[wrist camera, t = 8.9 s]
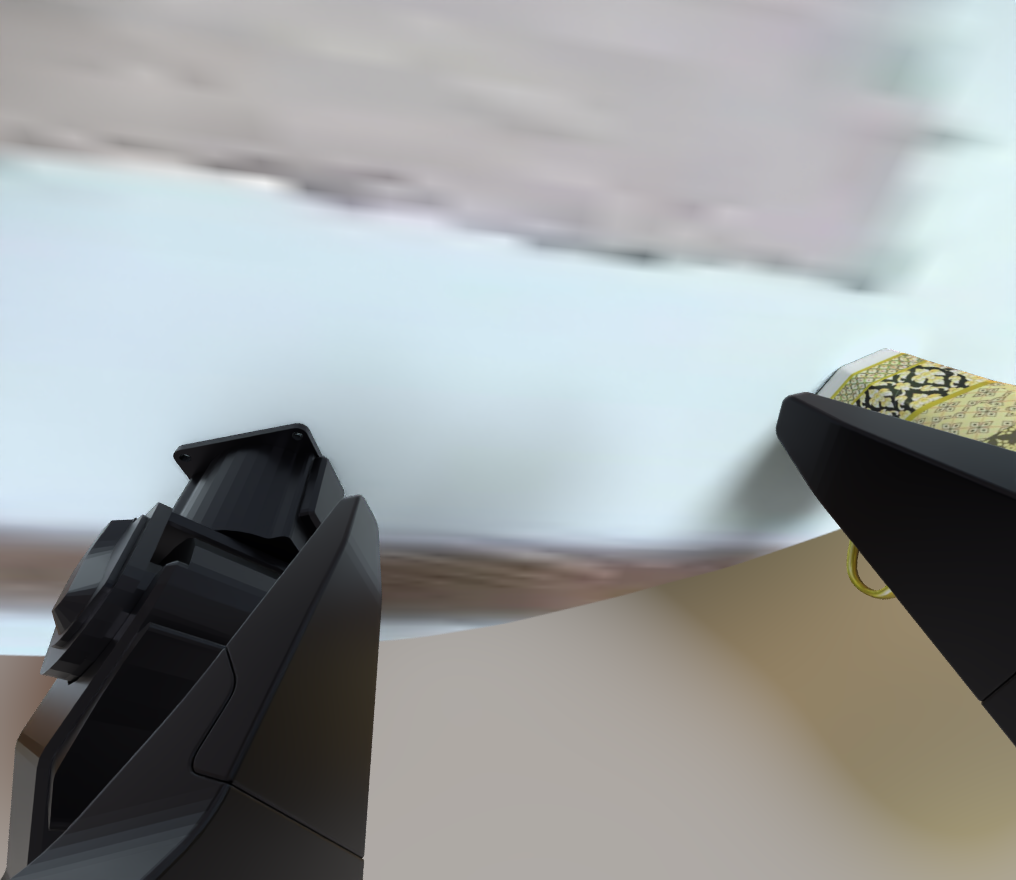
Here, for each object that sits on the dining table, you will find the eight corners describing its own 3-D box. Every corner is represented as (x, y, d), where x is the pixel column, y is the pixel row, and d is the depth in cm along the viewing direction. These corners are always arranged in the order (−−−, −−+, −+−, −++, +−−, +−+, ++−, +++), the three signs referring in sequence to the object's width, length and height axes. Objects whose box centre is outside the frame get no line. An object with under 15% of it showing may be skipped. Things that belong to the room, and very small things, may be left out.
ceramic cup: (867, 296, 23) (1095, 396, 16) (976, 348, 27) (1209, 452, 19) (716, 479, 30) (822, 613, 22) (819, 502, 33) (942, 626, 26)
